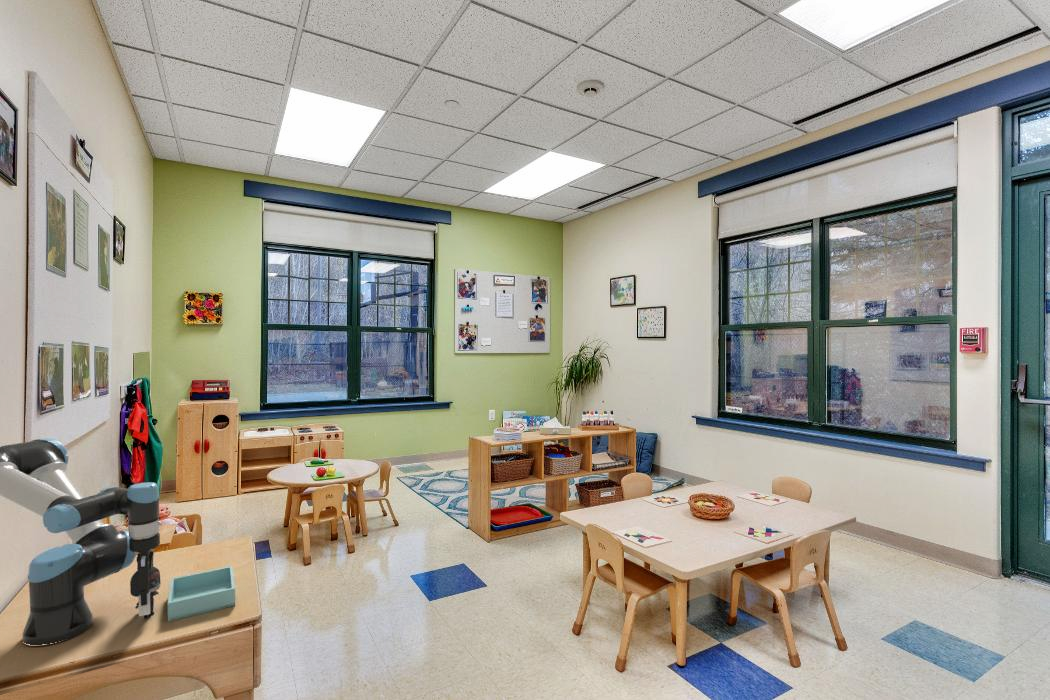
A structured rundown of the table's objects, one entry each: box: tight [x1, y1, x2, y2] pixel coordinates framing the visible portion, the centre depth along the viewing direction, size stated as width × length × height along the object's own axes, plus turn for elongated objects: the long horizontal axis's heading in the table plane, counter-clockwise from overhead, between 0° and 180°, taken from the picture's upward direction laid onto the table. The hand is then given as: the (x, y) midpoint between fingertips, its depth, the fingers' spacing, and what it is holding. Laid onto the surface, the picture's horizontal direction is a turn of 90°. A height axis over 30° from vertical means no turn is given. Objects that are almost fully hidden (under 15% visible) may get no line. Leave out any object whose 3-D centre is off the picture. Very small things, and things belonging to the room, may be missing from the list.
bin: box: [167, 565, 236, 622], centre depth 169 cm, size 18×19×6 cm
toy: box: [129, 565, 162, 619], centre depth 160 cm, size 9×8×15 cm
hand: (146, 605), depth 160 cm, fingers open, 11 cm apart
